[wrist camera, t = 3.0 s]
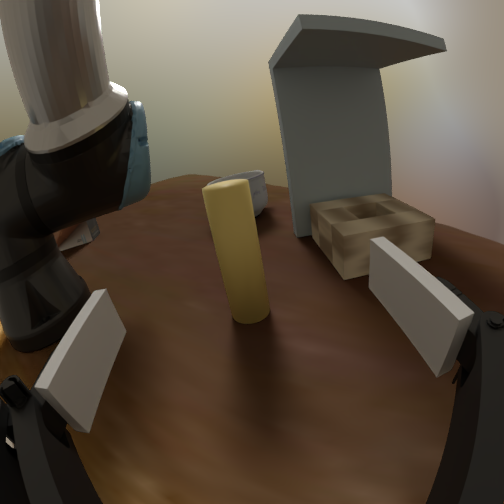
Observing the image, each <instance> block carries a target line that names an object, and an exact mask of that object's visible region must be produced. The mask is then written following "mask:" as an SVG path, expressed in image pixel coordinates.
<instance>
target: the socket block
mask: <svg viewBox="0 0 504 504" xmlns="http://www.w3.org/2000/svg"><path fill="white" fill-rule="evenodd" d="M309 206H310V216H311V227H312V238H313V239H314V241H315V242H316V243H317V244H318V246H319V247H320V248H321V250H322V251H323V252H324V254H325V255H326V256H327V258H328V259H329V260H330V262H331V263H332V265H333V266H334V267H335V269H336V270H337V271H338V273H339V274H340V276H341V277H342V278H343V280H347V279H351V278H356V277H360V276H364V275H368V274H369V267H370V239H373V238H378V237H385V238H386V239H387V240H389V241H390V242H391V243H393V244H394V245H395V246H397V247H398V248H399V249H400V250H402V251H403V252H404V253H406V254H407V255H408V256H409V257H411V258H412V259H413V260H414V261H416V262H419V261H423V260H426V259H430V258H431V253H432V245H433V236H434V226H435V219H434V218H433V217H431V216H429V215H427V214H425V213H423V212H421V211H419V210H417V209H416V208H414V207H412V206H409V205H408V204H406V203H404V202H402V201H400V200H398V199H396V198H394V197H391V196H389V195H387V194H385V193H382V194H375V195H367V196H360V197H353V198H346V199H339V200H332V201H325V202H319V203H312V204H309Z"/></svg>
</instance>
